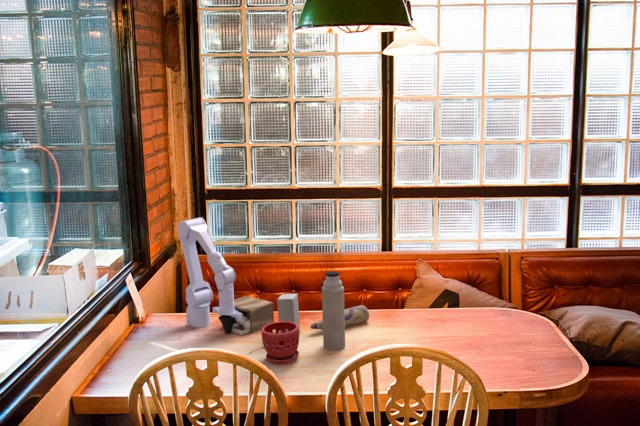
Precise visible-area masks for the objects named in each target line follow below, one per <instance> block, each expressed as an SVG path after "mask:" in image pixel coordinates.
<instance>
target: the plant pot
mask: <svg viewBox="0 0 640 426" xmlns="http://www.w3.org/2000/svg"><path fill="white" fill-rule="evenodd" d="M285 329H288V330H289V331H288V332H286V331H285ZM274 330H275V332H273V331H274ZM280 330H281V331H282V333H280ZM260 331H261V334H260V335H261V341H262V345H263V348H264V350H265V352H266V354H265V357H266V359H267V361H268V362H269V363H272V364H276V365H284V364H285V365H286V364H290V363H292V362H294V361H296V360H297V359H299V357H300V356H299V355H300V352H299V351H298V348H299V345H300V344H299V342H300V333H299V326H298V325H297V324H296V323H294V322H288V321H281V322H279V321H274V323H270V324H267V325H265V326H264V327H263V328H262V329H261V330H260Z"/></svg>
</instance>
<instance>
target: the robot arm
mask: <svg viewBox="0 0 640 426" xmlns="http://www.w3.org/2000/svg"><path fill="white" fill-rule="evenodd" d="M176 228H177V233H178V238H179V241H180V242H181V243H180V244H181V247H182V253H183V255H184V260H185V265H186V270H187V275H188V280H189V284H188V286H187V287H186V289H185V301H186V304H187V307H186V309H185V310H186V311H185V314H186V315H185V316H186V324H185V327H188V326H191V327H194V328H206V327H209V326H211V314H210V305H211V304H212V303H211V302H212V301H213V299H214V294H213V293H214V292H213V290H212V288H211V286H210V282H207V281H205V280H204V278H203V277H204V276H203V272H202V268H201V263H200V259H199V254H198V249H197V244H196V242H198V244H200V246H201V248H202V249H203V251H204V252H205V253H206V255H207V258H206V261H207V263H208V265H209V266H210V268H211V269H212V272H213V273H214V281H215V283H216V288H217V291H218V302H219V303H218V306H214V307H212V313H214V314H215V313H217V314H218V315H219V316H218V320H219V322H220V323H221V325H222V328H223V330H224V334H226V335H230V334H231V333H233V332H232V327H233V324H235V323H234V321H235V319H236V318H237V319H242V313H240V312H238V311H237V310H235V308H234V300H235V293H234V292H235V291H234V282H235V281H236V279H237V273H236V272H235V269H234V268H233V267H231V266H230V265H228V264H227V262H226V260H225V258H224V256H223V255H222V254H221V252H219V251H217V250H216V248H215V247H214V244H213V242H212V240H211V238H210V236H209V233H208V225H207V223H206V221H205V219H204V217H202V216H201V217H199V216H198V217H196V218H192V219H185V220H180V222H179V223H178V225H177V227H176Z"/></svg>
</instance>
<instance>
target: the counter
mask: <svg viewBox="0 0 640 426" xmlns="http://www.w3.org/2000/svg"><path fill="white" fill-rule="evenodd" d="M234 308H235V310H237V311H238V312H240V313H242V314H243V315H245V316H246V317H247V318H250V328H251V332H250V333H251V334H255V333H257V332H258V331H259V332H260V331H261V329H262V328H263V327H264V326H265V325H267V324H270V323H274V322H275V320H274V318H275V316H274V313H275V311H274V302H272V301H269V300H264V299H260V298H257V297H252V296H248V295H245V296H244V295H243V296H241V297H238V298H236V299H234ZM235 323H238V322H237V321H236V320H235V321H234V324H235Z"/></svg>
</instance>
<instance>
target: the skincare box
mask: <svg viewBox="0 0 640 426" xmlns="http://www.w3.org/2000/svg"><path fill="white" fill-rule="evenodd" d="M298 294H299V293H282V294H281V295H280V296H279V297H278V298H277V299H276V301H277V304H276V305H277V315H278V322H281V321H288V322H294V323H296V324H297V325H298V326H299V334H300V333H301V326H300V324H301V323H300V311H299V295H298ZM285 331H286V332H288V331H289V330H288V329H285ZM279 333H282V331H281V330H280V331H279Z"/></svg>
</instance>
